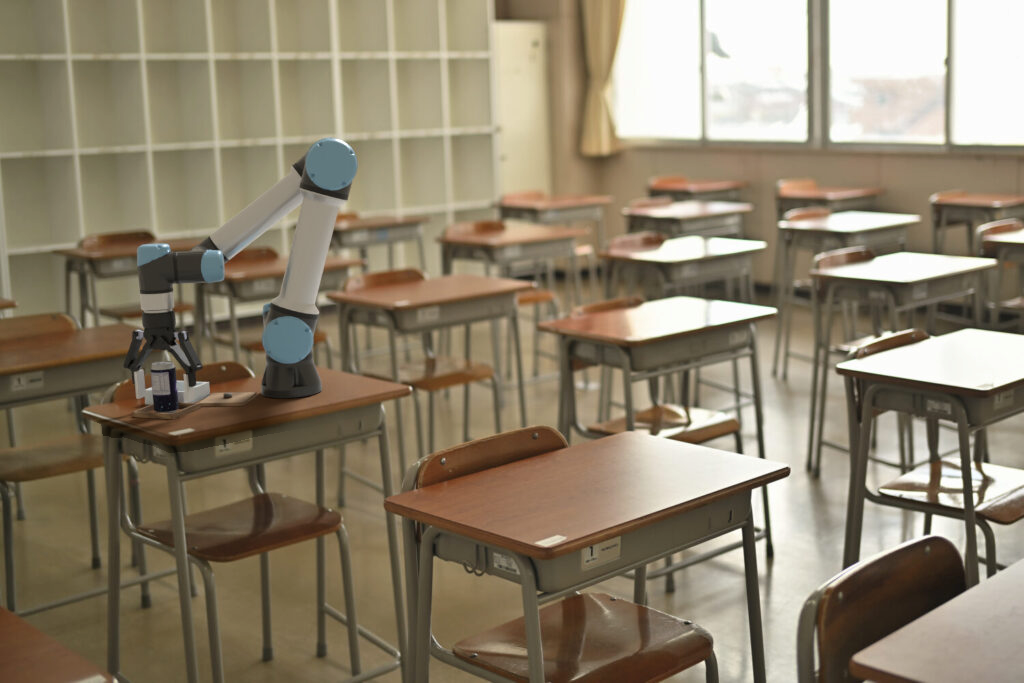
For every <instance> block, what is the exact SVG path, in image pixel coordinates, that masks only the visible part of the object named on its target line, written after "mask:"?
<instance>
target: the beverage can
mask: <svg viewBox="0 0 1024 683" xmlns="http://www.w3.org/2000/svg"><path fill="white" fill-rule="evenodd" d="M176 367H177V366H175V365H174V361H172V360H160V361H155V362H152V363H151V368H150V381H151V387H152V393H153V405H154V410H153V412H155V413H174V412H177V411H178V409H180V408H179V404H178V392H177V381H178V380H177V371H176V370H177V369H176Z"/></svg>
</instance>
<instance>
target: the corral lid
mask: <svg viewBox="0 0 1024 683" xmlns="http://www.w3.org/2000/svg"><path fill="white" fill-rule="evenodd" d="M255 397H257V391H254V392H253V391H249V392H247V391H245V392H238V391H237V392H236V391H234V392H211V393H210V395H209V396H208V397H206V398H204V399H202V400H199V401H198V403H200V407H237V406H238V407H243V406H245V405H247V404H248V403H249V402H250V401H252V400H253V399H254V398H255Z"/></svg>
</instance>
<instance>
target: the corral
mask: <svg viewBox="0 0 1024 683" xmlns="http://www.w3.org/2000/svg"><path fill="white" fill-rule="evenodd" d="M178 404H179V408H178V409H180V408H181V409H180V410H176V412H174V413H157V412H156V411H154V405H153V404H151V405H149V404H148V405H145V406H144V407H141V408H138V409H136V410H133V411H131V417H132V418H143V419H149V418H150V419H162V420H163V419H165V420H175V419H177V418H180V417H182V416H184V415H187V414H190V413H192V412H194V411H197V410H200V409H201V406H200V403H199V402H194V403H186V402H178ZM152 411H153V412H152Z"/></svg>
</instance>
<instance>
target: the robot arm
mask: <svg viewBox="0 0 1024 683" xmlns="http://www.w3.org/2000/svg"><path fill="white" fill-rule="evenodd" d="M358 165H359V163H358V159H357V154H356V153H355V151H354V149H353V148H352V146H351V145H350V144H348V143H347V142H346V141H345V140H342V139H340V138H335V137H326V138H321V139H319V140H317V141H315V142H314V143H313V144H312V145H311V146H310V147H309V148H308V150H306V153H304V155H302V156H301V157H300V159H298V160H297V161H296V162H294V163H293V164H292V165H291V167H290V171H289V173H288V174H286V175H285V176H284V177H283V178H281V179H280V180H279V181H277V182H276V183H275V184H274V185H272V186H271V187H270V188H268V189H267V190H266V191H264V192H263V193H262V194H261V195H259V196H258V197H257V198H256V199H255V200H253V201H252V202H251V203H249V204H248V205H247V206H246V207H245V208H243V209H241V211H239V212H238V213H236V214H235V215H234V216H233V217H232V218H230V219H229V220H227V222H225V223H224V224H223V225H222V226H220V227H219V228H217V229H216V230H215V231H214V232H212V233H211V234H209V236H208V237H206V238H204V239H203V240H202V241H201V242H200V243H199V244H196V245H195V246H193V247H192V248H191V249H190V250H188V251H186V250H185V251H172V250H171V247H170V244H168V243H146V244H141V245H139V246H138V247H137V249H136V259H137V261H136V262H137V264H136V267H137V276H138V286H139V298H140V310H141V311H142V313H141V321H142V322H141V323H142V327H143V328H144V330H143V329H142V328H139V329H135V330H133V331H132V333H131V342H130V345H129V348H128V351H127V354H126V356H125V359H124V362H123V365H122V366H123V368H124V369H128V370H130V371H131V382H132V384H133V385H134V387H135V397H136V399H138V400H139V399H143V398H145V397H146V392H145V389H146V382H145V371H144V369H142V366H143V365H144V363H145V362H146V361H147V359H148V358H149V356H150V354H151V353H152V351H157V350H159V351H167V353H170V354H171V356H172V357H174V359H175V361H176V362H177V363H178V364H179V365H180V367H181V368H182V369H183V370H184V371H185V373H183V374H182V375H183V381H184V389H185V401H191V400H193V399H195V395H194V386H196V382H197V375H196V373H197V372H198V371H200V370H203V368H204V366H203V364H202V362H201V360H200V358H199V355H198V354H197V353H196V351H195V348H194V347H193V344H192V342H191V339H190V337H189V336H190V335H189V332H188V330H187V329H186V330H182V331H177V330H176V324H177V320H176V319H177V318H176V310H174V308H175V295H174V285H180V284H201V283H202V284H203V283H204V284H207V283H208V284H212V283H217V282H222V281H224V280H225V276H226V275H225V273H226V271H225V264H226V263H228V262H229V261H230V260H231V259H232V258H234V257H235V256H237V254H239V253H241V251H243V250H244V249H245V248H247V247H248V246H250V244H252V243H253V242H254V241H256V240H257V239H258V238H259V237H260V236H262V235H263V234H264V233H266V232H268V231H269V230H270V229H271V228H273V226H276V224H278V223H279V222H280V221H281V220H282V219H284V218H285V217H287V216H288V215H289V214H290V213H291V212H293V211H294V210H296V209H297V208H298V207H299V206H301V207H300V210H299V214H298V218H297V222H296V227H295V230H294V235H293V238H292V243H291V247H290V250H289V251H290V252H289V256H288V258H287V262H286V267H285V271H284V275H283V279H282V283H281V287H280V290H279V294H278V295H277V296H276V297H275V298H273V299H271V300H270V302H269V303H268V302H267V303H264V304H263V306H262V313H261V315H262V316H261V317H263V318H262V322H263V332H262V335H261V343H262V347H263V349H264V351H265V360H266V363H265V367H264V372H263V374H262V375H263V376H262V379H261V384H260V395H261V396H264V397H265V398H266V397H267V398H272V399H273V398H276V399H292V398H294V399H295V398H301V397H302V398H303V397H309V396H312V395H316V394H318V393H320V392H322V390H323V386H322V385H323V383H322V379H321V377H320V374H319V371H318V369H317V367H316V364H315V362H314V353H313V346H314V343H315V341H314V336H315V331H316V328H317V323H318V320H319V315H320V310H319V309H318V308H317V306H316V301H317V297H318V292H319V289H320V285H321V282H322V277H323V273H324V269H325V265H326V261H327V257H328V253H329V249H330V245H331V241H332V236H333V233H334V228H335V226H336V221H337V217H338V212H339V209H340V207H341V206H342V205H344V204H346V203H347V202H349V201H348V200H349V195H350V192H351V189H352V184H353V181H354V179H355V177H356V175H357V173H358V172H357V171H358V167H359V166H358ZM143 339H145V343H144V345H143V346H142V342H143ZM177 341H178V342H177ZM141 346H142V349H141V350H140V348H141Z"/></svg>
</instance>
